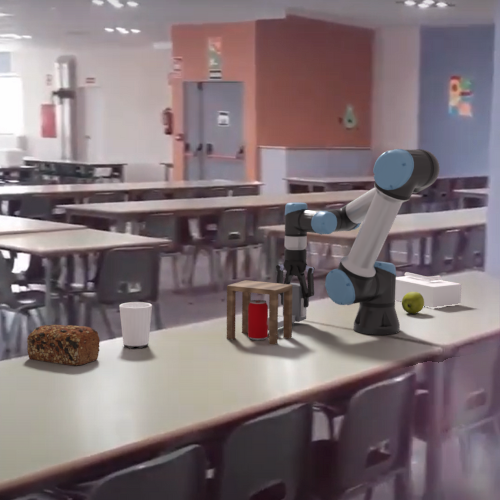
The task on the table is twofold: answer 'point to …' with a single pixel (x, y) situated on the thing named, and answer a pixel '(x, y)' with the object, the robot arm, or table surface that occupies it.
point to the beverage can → (257, 320)
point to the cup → (135, 323)
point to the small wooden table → (273, 292)
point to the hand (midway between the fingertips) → (294, 315)
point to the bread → (63, 344)
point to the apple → (413, 302)
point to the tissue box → (428, 289)
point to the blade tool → (293, 305)
